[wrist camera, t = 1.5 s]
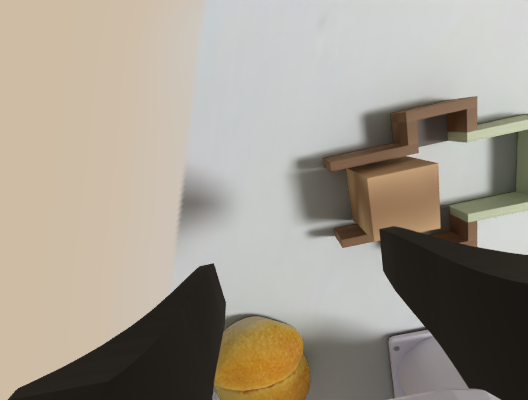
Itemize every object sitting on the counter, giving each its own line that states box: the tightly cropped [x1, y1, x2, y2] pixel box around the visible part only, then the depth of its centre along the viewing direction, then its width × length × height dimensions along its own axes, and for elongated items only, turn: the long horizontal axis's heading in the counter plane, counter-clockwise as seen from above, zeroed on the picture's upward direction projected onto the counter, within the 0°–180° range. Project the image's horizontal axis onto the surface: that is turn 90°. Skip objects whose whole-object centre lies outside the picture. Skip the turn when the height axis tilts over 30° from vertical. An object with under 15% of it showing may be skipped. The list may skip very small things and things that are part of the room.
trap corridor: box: [323, 96, 528, 248], centre depth 18 cm, size 10×14×2 cm
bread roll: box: [214, 316, 310, 400], centre depth 22 cm, size 8×9×4 cm
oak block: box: [346, 156, 441, 242], centre depth 18 cm, size 4×4×4 cm
